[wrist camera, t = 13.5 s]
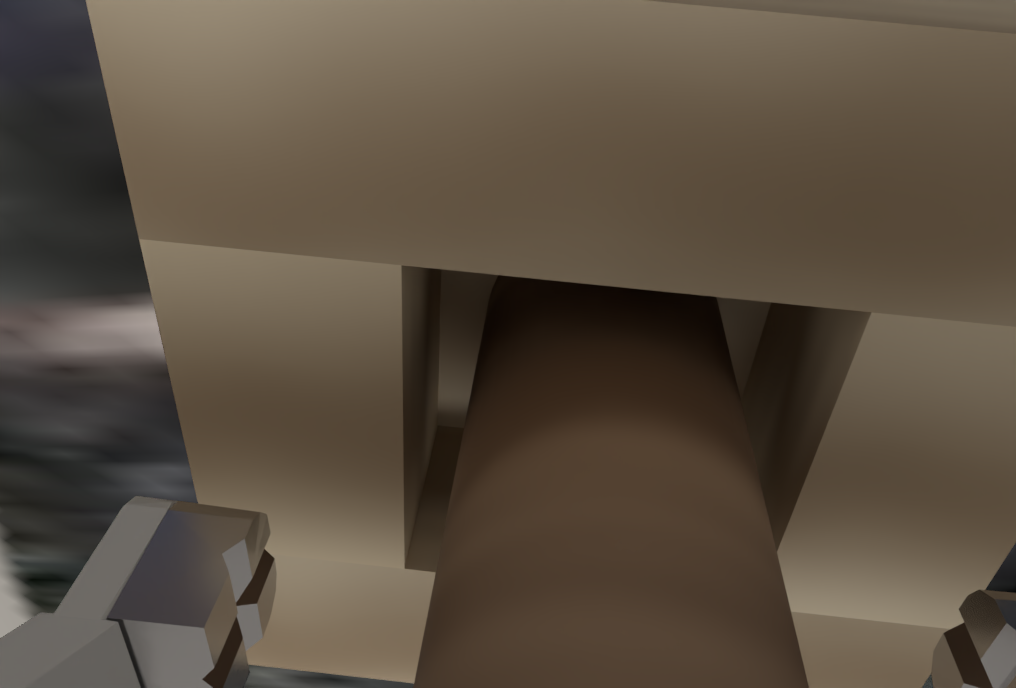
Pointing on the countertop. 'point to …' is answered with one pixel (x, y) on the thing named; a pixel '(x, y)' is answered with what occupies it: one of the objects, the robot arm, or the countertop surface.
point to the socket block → (583, 274)
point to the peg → (606, 505)
